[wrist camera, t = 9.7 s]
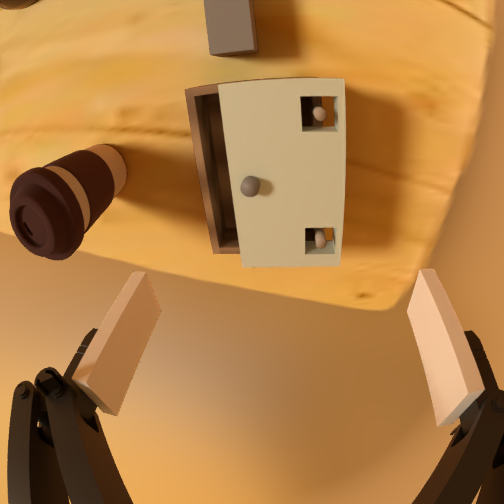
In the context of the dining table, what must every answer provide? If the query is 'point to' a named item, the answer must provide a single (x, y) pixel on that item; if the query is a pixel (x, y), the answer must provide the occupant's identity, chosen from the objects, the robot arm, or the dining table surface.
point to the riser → (231, 27)
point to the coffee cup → (65, 199)
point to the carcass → (216, 164)
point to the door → (284, 170)
